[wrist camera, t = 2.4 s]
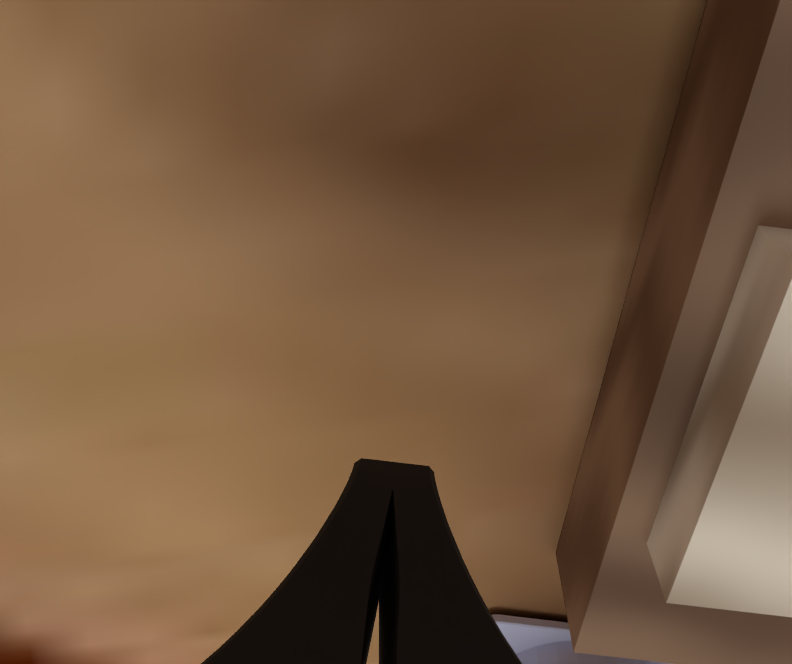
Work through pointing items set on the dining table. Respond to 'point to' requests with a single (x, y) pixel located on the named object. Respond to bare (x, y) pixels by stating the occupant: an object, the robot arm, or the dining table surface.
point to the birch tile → (737, 455)
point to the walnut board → (681, 345)
